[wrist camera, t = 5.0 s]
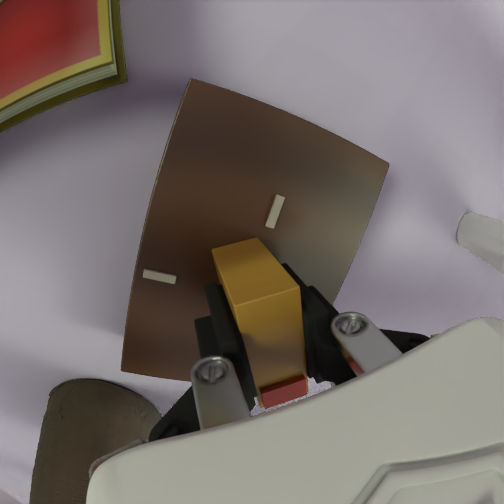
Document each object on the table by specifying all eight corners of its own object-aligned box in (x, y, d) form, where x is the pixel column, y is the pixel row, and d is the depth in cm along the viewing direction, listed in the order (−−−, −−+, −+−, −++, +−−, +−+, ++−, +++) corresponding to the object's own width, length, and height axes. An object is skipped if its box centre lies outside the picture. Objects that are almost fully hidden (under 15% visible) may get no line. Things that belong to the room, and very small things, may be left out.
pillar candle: (29, 376, 15) (-9, 559, 2) (150, 374, 17) (179, 602, 4) (76, 447, 19) (76, 587, 5) (175, 446, 21) (208, 597, 8)
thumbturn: (211, 248, 12) (235, 311, 8) (257, 236, 12) (303, 290, 8) (234, 340, 14) (262, 413, 10) (273, 328, 15) (311, 396, 10)
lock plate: (186, 90, 12) (190, 76, 9) (357, 157, 16) (392, 164, 13) (124, 337, 16) (120, 373, 13) (274, 357, 19) (290, 389, 17)
